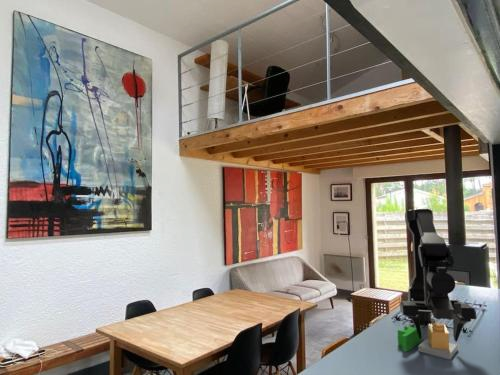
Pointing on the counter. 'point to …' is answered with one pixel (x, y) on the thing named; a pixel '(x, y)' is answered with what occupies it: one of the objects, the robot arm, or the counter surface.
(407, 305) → the robot arm
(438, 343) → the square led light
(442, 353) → the plate
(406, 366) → the counter surface
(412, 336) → the pipe clamp
